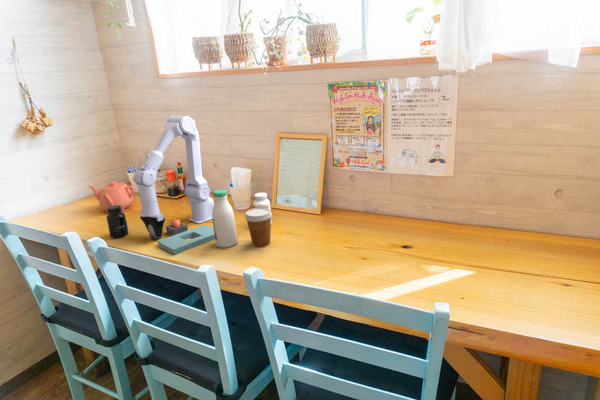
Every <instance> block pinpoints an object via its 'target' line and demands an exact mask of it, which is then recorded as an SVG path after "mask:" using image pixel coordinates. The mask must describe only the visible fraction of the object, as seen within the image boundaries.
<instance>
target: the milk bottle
mask: <svg viewBox="0 0 600 400" xmlns="http://www.w3.org/2000/svg"><path fill="white" fill-rule="evenodd" d="M227 192H228V191H227V190H226V189H217V190H214V191H213V193H212V195H213V198H214V207H213V211H212V219H211V220H212V226H213V227H212V228H214V234H215V239H214V240H215V245H216V247H218V248H223V249H224V248H226V249H227V248H230V247H233V246H235V245H236V244H237V243H238V237H237V235H238V234H237V229H236V228H237V227H236V220H235V214H234V213H235V212H234V210H233V208H232V205H231V204H230V203H229V201H228V193H227Z"/></svg>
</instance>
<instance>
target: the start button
mask: <svg viewBox="0 0 600 400" xmlns="http://www.w3.org/2000/svg"><path fill="white" fill-rule="evenodd" d="M180 220H181V219H178V218H177V219H173V220H171V221H170V223H171V224H172V227H173V228H177V227H179V226H181V225H180V222H181V221H180Z"/></svg>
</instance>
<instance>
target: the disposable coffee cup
mask: <svg viewBox="0 0 600 400" xmlns="http://www.w3.org/2000/svg"><path fill="white" fill-rule="evenodd" d="M272 216H273V213H272V210H271V211H270V209H268V208H254V207H253V208H251V209H249V210H247V211H246V212H245V215H244V218H245V220H246V223H247V227H248V231H249V235H250V238H251V243H252V246H254V247H256V248H257V247H258V248H262V247H266V246H269V245H270V244H271V230H272V228H271V227H272V224H271V218H272Z"/></svg>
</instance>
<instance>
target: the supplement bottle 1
mask: <svg viewBox="0 0 600 400" xmlns="http://www.w3.org/2000/svg"><path fill="white" fill-rule="evenodd" d="M107 209H108V213H107V215H106V223H107V226H108V232H109V236H110V237H111V239H122V238H125V237H127V236H128V235H129V227H128V222H127V218H126V214H125V212H121V211H122V210H121V206H119V205H115V206H110V207H108V208H107Z"/></svg>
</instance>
